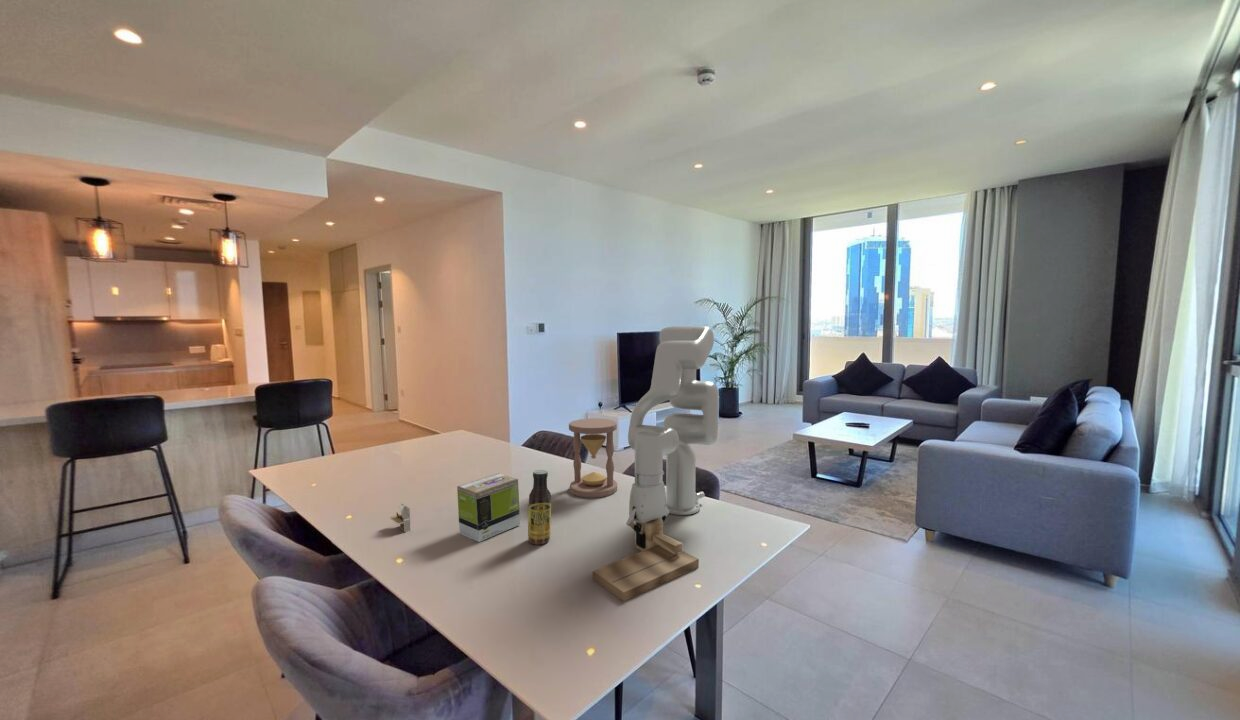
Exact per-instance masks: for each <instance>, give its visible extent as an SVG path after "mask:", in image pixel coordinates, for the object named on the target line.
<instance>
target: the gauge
mask: <svg viewBox="0 0 1240 720" xmlns="http://www.w3.org/2000/svg"><path fill="white" fill-rule="evenodd" d="M635 521H636V519H635ZM635 521H634V522H635ZM640 526H641V524H639V527H640ZM644 534H645V548H644V549H643V548H641V547H639V546H637V545H636V532H635V531H634V547H635V548H636V549H638V550H640V552H642V551H644V550H647V549H649V548H652V547H654V546H657V545H660V546H662V547H664V548H665V549H667V550H669V551H671V552H673V553H675V555H677V554H678V552H680V551H683V543H682V542H681V541H678V540H676V539H675V538H672V537H670V536H668V535H666V534H664V522H663V520H661V519H655V520H652V521H649V522H646V523H645V529H644Z"/></svg>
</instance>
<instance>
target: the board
mask: <svg viewBox="0 0 1240 720" xmlns="http://www.w3.org/2000/svg"><path fill="white" fill-rule="evenodd" d="M699 560H700V559H699V558H697V557H696V556H694V555H691V553H687V552H686V551H685V550H682V551H680V552H678V554H677V555H675V553H673V552H671V551H669V550H667V549H665V548H664V547H662V546H660V545H657V546H654V547H652V548H649V549H647V550H644V551H640V552H637V553H634V554H631V555H630V556H627V557H624V558H622V559H619V560H617V561H614V562H611V563H609V564H606V565H604V566H601V567H597V568H596V569H594V570H592V580H593V581H595V582H596V583H597V584H599V585H601V586H602V587H603V588H604V589H606V590H607V591H609V592H611V593H612V594H613V595H615V597H617V598H618V599H620V600H621V601H623V602H625V601H628V600H630V599H631V598H634V597H636V596H638V595H641V594H643V593H645V592H647V591H649V590H652V589H653V588H655V587H658V586H660V585H662V584H665V583H666V582H668V581H671V580H673V579H675V578H677V577H679V576H682V575H684V574H686V573H688V572H690V571H693V570H695V569H697V568H699V567H700V565H699V563H700V561H699Z"/></svg>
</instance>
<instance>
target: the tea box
mask: <svg viewBox="0 0 1240 720" xmlns="http://www.w3.org/2000/svg"><path fill="white" fill-rule="evenodd" d="M456 488H457V505H458V506H457V508H458V511H457V512H458V525H459V526H458V527H459V529H458V530H459V534H460V535H462V534H463V535H462V536H464V535H465V536H464V537H466V536H467V538H468V539H471V540H472V541H475V542H477V543H481V542H482V541H485V540H488V539H490V538H492V537H495V536H497V535H498V534H502V533H504V532H507V531H508V530H511V529H513V528H515V527H518V526H521V512H520V510H521V509H520V493H519V479H518V478H516V477H513V476H507V475H504V474H503V473H502V474H501V473H495V474H491V475H489V476H486V477H482V478H478V479H475V480H471V481H469V482H466V483H463V484H460V485H458V486H456Z"/></svg>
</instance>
